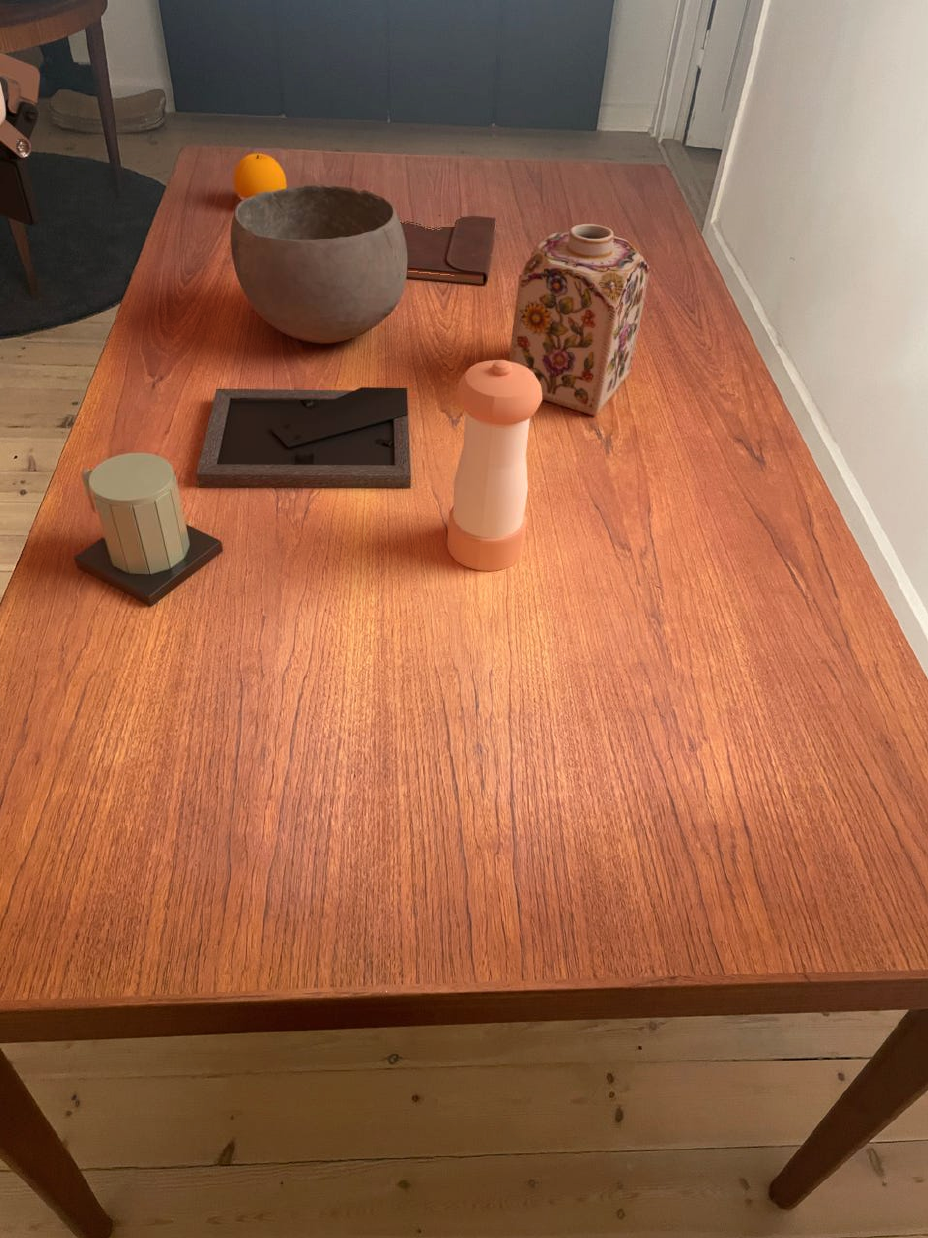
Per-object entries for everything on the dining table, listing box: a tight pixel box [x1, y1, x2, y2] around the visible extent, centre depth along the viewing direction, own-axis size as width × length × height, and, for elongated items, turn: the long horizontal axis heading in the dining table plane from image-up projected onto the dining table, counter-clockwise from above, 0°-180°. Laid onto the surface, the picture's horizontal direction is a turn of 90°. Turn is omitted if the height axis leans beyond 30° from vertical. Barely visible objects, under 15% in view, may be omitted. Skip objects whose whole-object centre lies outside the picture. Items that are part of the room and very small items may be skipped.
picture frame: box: [196, 386, 412, 489], centre depth 96 cm, size 16×2×21 cm
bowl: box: [230, 184, 407, 344], centre depth 109 cm, size 20×20×15 cm
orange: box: [232, 153, 288, 198], centre depth 139 cm, size 8×8×8 cm
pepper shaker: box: [446, 359, 543, 572], centre depth 79 cm, size 7×7×19 cm
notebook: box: [400, 215, 498, 286], centre depth 132 cm, size 15×20×2 cm
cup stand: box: [73, 524, 224, 608], centre depth 79 cm, size 9×9×8 cm
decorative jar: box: [509, 223, 651, 417], centre depth 102 cm, size 12×12×18 cm
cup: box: [81, 452, 190, 574], centre depth 79 cm, size 7×10×8 cm
